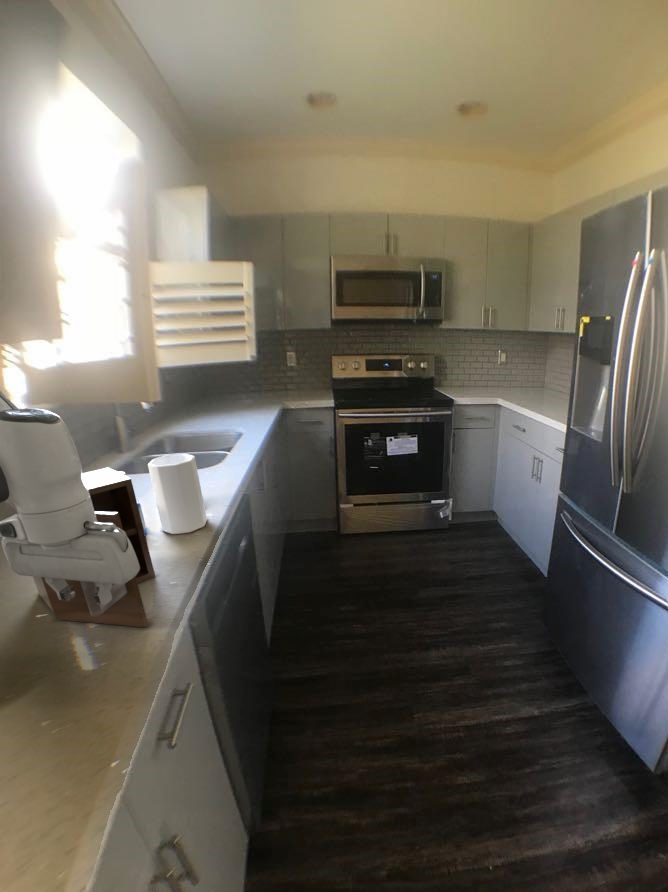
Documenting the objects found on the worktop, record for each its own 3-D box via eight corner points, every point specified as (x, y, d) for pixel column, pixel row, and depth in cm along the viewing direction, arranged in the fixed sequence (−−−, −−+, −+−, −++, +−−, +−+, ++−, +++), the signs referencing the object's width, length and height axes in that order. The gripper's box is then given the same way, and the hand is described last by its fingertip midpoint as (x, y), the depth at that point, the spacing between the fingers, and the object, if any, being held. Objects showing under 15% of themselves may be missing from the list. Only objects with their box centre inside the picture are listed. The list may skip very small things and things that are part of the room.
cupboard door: (117, 653, 76) (81, 533, 67) (23, 644, 79) (-24, 528, 71) (148, 623, 83) (118, 512, 75) (60, 616, 86) (22, 508, 78)
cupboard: (155, 576, 99) (131, 478, 90) (57, 616, 86) (18, 507, 78) (132, 559, 106) (108, 467, 98) (39, 594, 93) (2, 492, 85)
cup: (166, 538, 116) (150, 469, 109) (159, 523, 124) (144, 458, 117) (212, 527, 121) (199, 460, 114) (201, 513, 130) (189, 450, 123)
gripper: (137, 515, 68) (157, 594, 73) (23, 508, 72) (49, 584, 77) (105, 534, 62) (129, 618, 67) (-17, 525, 66) (14, 606, 71)
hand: (86, 600), depth 72 cm, fingers open, 5 cm apart
